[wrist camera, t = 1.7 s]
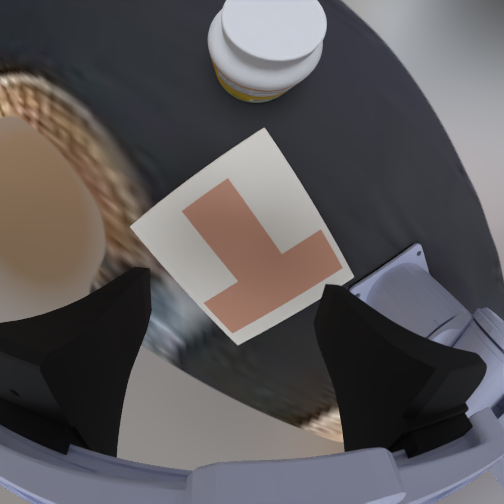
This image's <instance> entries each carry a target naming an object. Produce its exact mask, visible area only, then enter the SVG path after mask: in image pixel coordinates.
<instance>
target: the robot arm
mask: <svg viewBox="0 0 504 504" xmlns="http://www.w3.org/2000/svg"><path fill="white" fill-rule="evenodd" d="M418 251H419V253H418V254H417V252H418ZM358 293H359V294H358ZM356 294H358V295H357V296H355V295H356ZM151 311H152V308H151V291H150V268H141V267H134V268H132V269H130V270H129V271H127V272H125V273H124V274H122V275H121V276H119V277H118V278H116V279H114V280H113V281H111V282H110V283H108V284H107V285H105V286H103V287H102V288H100V289H98V290H96V291H95V292H93V293H91V294H89V295H88V296H86V297H84V298H82V299H80V300H78V301H76V302H74V303H71V304H69V305H67V306H64V307H62V308H59V309H56V310H53V311H51V312H48V313H45V314H42V315H38V316H34V317H31V318H26V319H22V320H17V321H10V322H3V323H0V485H1V486H3V487H5V488H6V489H8V490H9V491H11V492H13V493H14V494H16V495H18V496H19V497H21V498H23V499H25V500H26V501H28V502H30V503H32V504H435V503H436V502H438V501H440V500H442V499H444V498H446V497H447V496H449V495H451V494H453V493H454V492H456V491H458V490H459V489H461V488H463V487H464V486H466V485H468V484H469V483H471V482H472V481H474V480H475V479H477V478H478V477H479V476H480V475H482V474H483V473H484V472H485V471H487V470H489V471H490V472H491V473H492V474H493V476H494V477H495V478H496V479H497V481H498V482H499V483H500V484H501V485H502V487H503V488H504V321H503V320H502V319H501V318H500V317H498V316H497V315H496V314H495V313H494V312H493V311H491V310H490V309H489V308H482V309H479V308H478V309H477V310H476V311H475V313H474V314H473V315H472V314H471V313H470V312H469V311H468V310H467V309H466V308H465V307H464V306H463V305H462V304H461V303H460V302H459V301H458V300H457V299H456V298H454V297H453V296H452V295H451V294H450V293H449V292H448V291H447V290H446V289H445V288H444V287H443V286H442V285H441V284H440V283H438V282H437V281H436V280H435V279H434V278H433V277H432V276H431V275H430V274H429V270H428V267H427V263H426V260H425V256H424V253H423V249H422V246H421V245H420V244H419V243H415V244H413V245H412V246H411V247H409V248H408V249H407V250H405V251H404V252H402V253H401V254H400V255H398V256H397V257H395V258H394V259H392V260H391V261H390V262H388V263H387V264H385V265H384V266H382V267H381V268H379V269H378V270H376V271H375V272H373V273H372V274H370V275H369V276H367V277H366V278H364V279H363V280H361V281H360V282H358V283H357V284H355V285H354V286H352V287H351V288H350V290H349V291H348V290H347V289H345V288H343V287H342V286H340V285H334V284H325V287H324V291H323V294H322V297H321V301H320V304H319V307H318V311H317V314H316V317H315V320H314V327H315V332H316V337H317V341H318V345H319V347H320V350H321V353H322V356H323V358H324V361H325V364H326V367H327V369H328V372H329V375H330V377H331V380H332V383H333V386H334V390H335V393H336V398H337V403H338V407H339V413H340V418H341V424H342V431H343V440H344V449H345V452H344V453H338V454H331V455H324V456H317V457H307V458H297V459H284V460H261V461H260V460H259V461H235V462H218V463H214V464H210V465H205V466H201V467H198V468H196V469H195V470H193V471H191V470H181V469H174V468H166V467H160V466H154V465H148V464H143V463H138V462H133V461H128V460H124V459H120V458H117V445H118V435H119V427H120V420H121V414H122V408H123V402H124V397H125V392H126V388H127V383H128V379H129V376H130V373H131V370H132V367H133V365H134V362H135V359H136V357H137V354H138V351H139V349H140V346H141V344H142V341H143V339H144V336H145V334H146V331H147V327H148V323H149V319H150V315H151Z"/></svg>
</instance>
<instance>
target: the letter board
mask: <svg viewBox="0 0 504 504" xmlns="http://www.w3.org/2000/svg"><path fill="white" fill-rule="evenodd" d="M130 228H131V229H132V230H133V231H134V232H135V234H136V235H137V236H138V237H139V239H140V240H141V241H142V242H143V243H144V245H145V246H146V247H147V248H148V249H149V250H150V252H151V253H152V254H153V255H154V256H155V257H156V259H157V260H158V261H159V262H160V263H161V264H162V266H163V267H164V268H165V269H166V270H167V271H168V272H169V274H170V275H171V276H172V277H173V278H174V279H175V280H176V281H177V282H178V284H179V285H180V286H181V287H182V288H183V289H184V290H185V291H186V292H187V293H188V295H189V296H190V297H191V298H192V299H193V300H194V301H195V302H196V303H197V304H198V305H199V306H200V307H201V308H202V310H203V311H204V312H205V313H206V314H207V315H208V316H209V317H210V318H211V319H212V320H213V321H214V322H215V323H216V324H217V325H218V326H219V327H220V328H221V329H222V330H223V331H224V332H225V333H226V334H227V335H228V336H229V337H230V338H231V339H232V340H233V341H234V342H235V343H236V344H237V345H239V344H241V343H243V342H245V341H247V340H249V339H251V338H253V337H254V336H256V335H258V334H260V333H262V332H264V331H265V330H267V329H269V328H271V327H273V326H274V325H276V324H278V323H280V322H281V321H283V320H285V319H287V318H288V317H290V316H292V315H294V314H295V313H297V312H299V311H300V310H302V309H304V308H306V307H307V306H309V305H311V304H312V303H314V302H316V301H317V300H319V299H321V297H322V294H323V291H324V287H325V284H334V285H340V286H341V285H343V284H345V283H346V282H348V281H349V280H351V279H352V278H354V275H353V273H352V272H351V270H350V268H349V266H348V264H347V262H346V260H345V258H344V257H343V255H342V253H341V251H340V249H339V247H338V246H337V244H336V242H335V240H334V238H333V237H332V235H331V233H330V231H329V230H328V228H327V226H326V224H325V223H324V221H323V219H322V217H321V216H320V214H319V212H318V211H317V209H316V207H315V206H314V204H313V202H312V201H311V199H310V197H309V196H308V194H307V192H306V191H305V189H304V187H303V186H302V184H301V183H300V181H299V179H298V178H297V176H296V175H295V173H294V171H293V170H292V168H291V167H290V165H289V164H288V162H287V161H286V159H285V157H284V156H283V154H282V153H281V151H280V150H279V148H278V147H277V145H276V144H275V142H274V141H273V139H272V138H271V136H270V135H269V134H268V132H267V131H266V129H265V128H262V129H261V130H259V131H258V132H256V133H255V134H253V135H251V136H250V137H248V138H247V139H245V140H244V141H242V142H241V143H239V144H238V145H236V146H235V147H233V148H232V149H230V150H229V151H227V152H226V153H225V154H223V155H222V156H220V157H219V158H217V159H216V160H214V161H213V162H212V163H210V164H209V165H207V166H206V167H205V168H203V169H202V170H201V171H199V172H198V173H196V174H195V175H194V176H192V177H191V178H190V179H188V180H187V181H186V182H184V183H183V184H182V185H180V186H179V187H178V188H176V189H175V190H174V191H173V192H171V193H170V194H169V195H167V196H166V197H165V198H164V199H162V200H161V201H160V202H159V203H157V204H156V205H155V206H154V207H152V208H151V209H150V210H149V211H147V212H146V213H145V214H144V215H143V216H141V217H140V218H139V219H138V220H137V221H135V222H134V223H133V224H132V225H131V226H130Z"/></svg>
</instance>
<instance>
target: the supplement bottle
mask: <svg viewBox="0 0 504 504" xmlns="http://www.w3.org/2000/svg"><path fill="white" fill-rule="evenodd" d="M326 27H327V22H326V16H325V13H324V11H323V8H322V7H321V5H320V4H319V2H318V1H317V0H226V2H225V4H224V6H223V9H222V10H221V11H220V12H219V13H218V14H217V15H216V16H215V18H214V19H213V21H212V23H211V26H210V29H209V33H208V47H209V52H210V56H211V59H212V62H213V66H214V69H215V72H216V75H217V78H218V80H219V82H220V84H221V85H222V87H223V88H224V89H225V90H226V91H227V92H228V93H229V94H231V95H232V96H233V97H235V98H237V99H239V100H242V101H246V102H252V103H261V102H267V101H270V100H273V99H275V98H277V97H279V96H281V95H282V94H284V93H285V92H287V91H288V90H289V89H291V88H292V87H293V86H295V85H296V84H298V83H299V82H301V81H302V80H303V79H305V78H306V77H307V76H308V75H309V74H310V73H311V72H312V71H313V69H314V68H315V67H316V65H317V63H318V62H319V59H320V57H321V53H322V46H323V42H322V40H323V39H324V36H325V33H326Z"/></svg>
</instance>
